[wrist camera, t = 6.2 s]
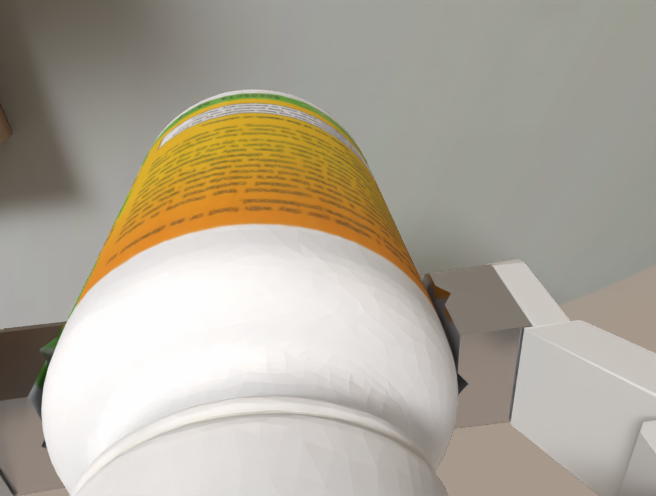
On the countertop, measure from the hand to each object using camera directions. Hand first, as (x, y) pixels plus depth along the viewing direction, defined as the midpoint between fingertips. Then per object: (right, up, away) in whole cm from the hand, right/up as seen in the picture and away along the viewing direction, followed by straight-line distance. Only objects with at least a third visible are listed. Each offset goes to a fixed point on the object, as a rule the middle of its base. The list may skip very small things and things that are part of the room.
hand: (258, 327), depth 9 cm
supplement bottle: (-1, +3, +5) cm, 5 cm away
